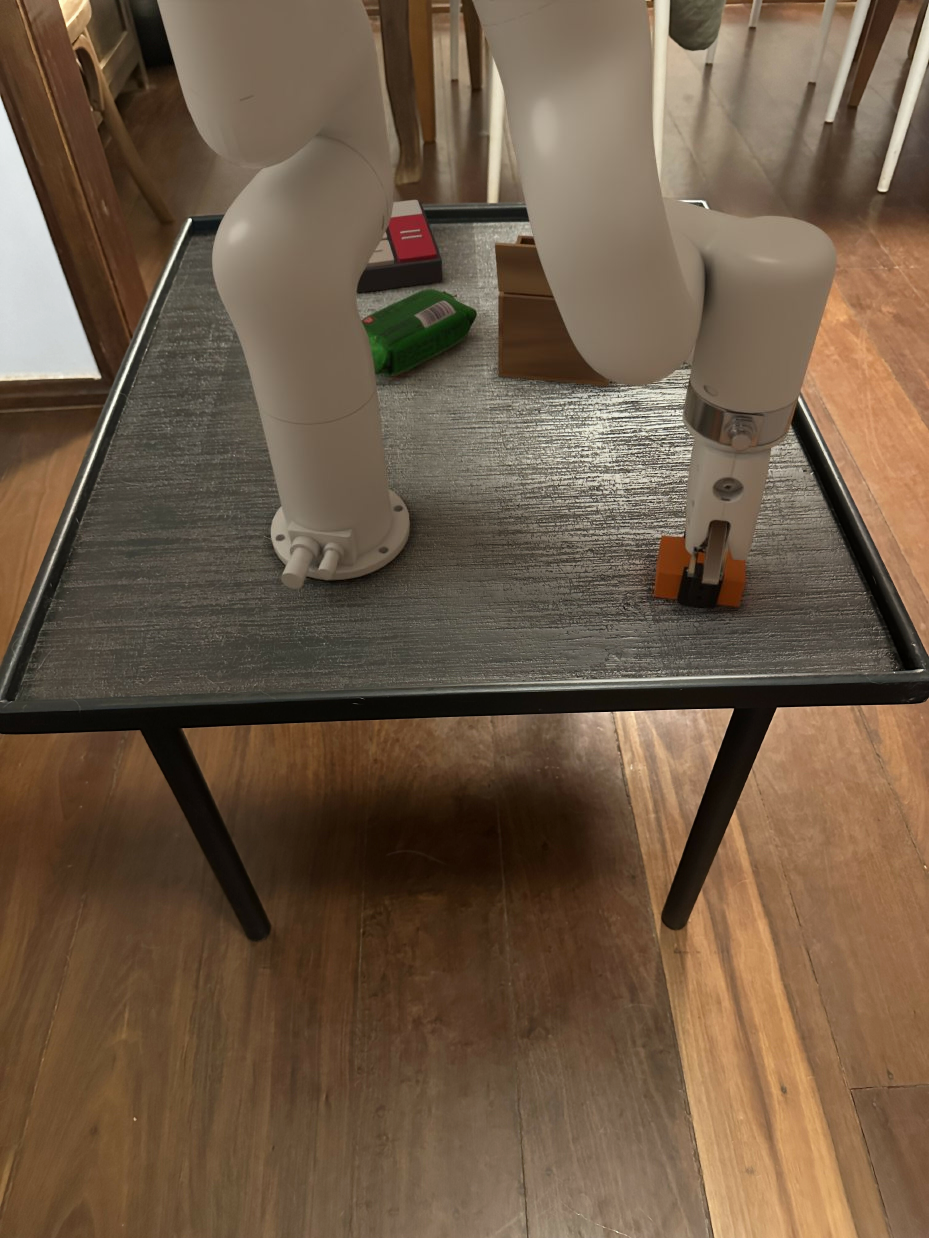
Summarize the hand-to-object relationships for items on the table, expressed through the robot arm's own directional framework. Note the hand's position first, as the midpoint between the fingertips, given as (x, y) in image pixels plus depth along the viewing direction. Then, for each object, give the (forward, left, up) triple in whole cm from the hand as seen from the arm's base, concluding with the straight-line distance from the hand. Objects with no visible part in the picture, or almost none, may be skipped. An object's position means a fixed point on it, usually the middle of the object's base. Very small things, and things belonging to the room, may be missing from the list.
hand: (697, 579), depth 78 cm
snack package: (+31, +32, -1) cm, 45 cm away
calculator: (+51, +40, -1) cm, 65 cm away
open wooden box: (+34, +16, 0) cm, 38 cm away
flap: (+27, +16, +13) cm, 34 cm away
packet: (0, 0, 0) cm, 0 cm away
